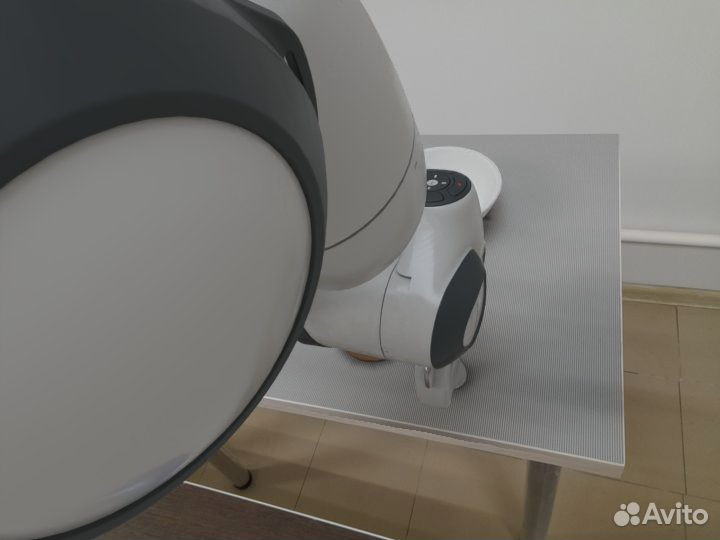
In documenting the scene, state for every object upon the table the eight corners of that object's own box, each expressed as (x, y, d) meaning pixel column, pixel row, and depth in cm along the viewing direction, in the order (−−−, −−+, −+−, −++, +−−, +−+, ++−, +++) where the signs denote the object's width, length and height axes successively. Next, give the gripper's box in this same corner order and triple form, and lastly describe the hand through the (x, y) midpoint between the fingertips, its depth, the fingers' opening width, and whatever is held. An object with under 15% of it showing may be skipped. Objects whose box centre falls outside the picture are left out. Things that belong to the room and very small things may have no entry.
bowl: (414, 278, 86) (408, 244, 80) (367, 206, 101) (359, 173, 95) (525, 230, 89) (528, 194, 83) (464, 167, 103) (463, 131, 97)
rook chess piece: (429, 385, 73) (424, 354, 67) (440, 359, 75) (436, 327, 70) (460, 395, 71) (457, 364, 65) (470, 368, 74) (469, 336, 68)
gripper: (455, 377, 51) (462, 435, 62) (488, 230, 63) (489, 299, 74) (394, 366, 54) (410, 424, 64) (436, 226, 66) (445, 294, 76)
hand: (453, 356), depth 69 cm, fingers open, 8 cm apart
